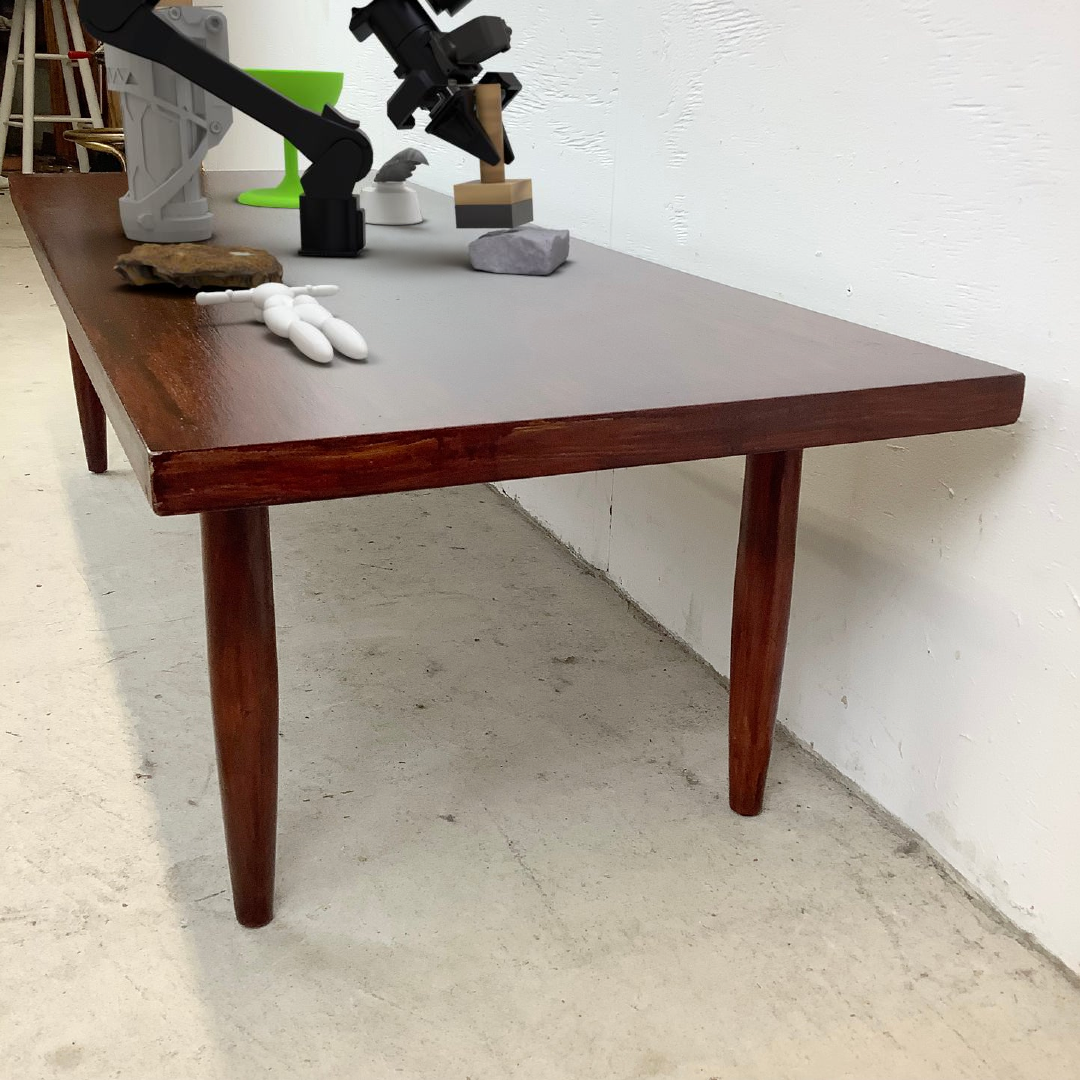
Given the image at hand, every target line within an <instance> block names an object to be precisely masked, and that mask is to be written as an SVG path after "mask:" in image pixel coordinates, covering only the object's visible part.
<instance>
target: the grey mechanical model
mask: <svg viewBox="0 0 1080 1080" xmlns="http://www.w3.org/2000/svg"><path fill="white" fill-rule="evenodd" d="M155 8H156V9H157V10H158V11H159V12H160V13H161V14H163V15H164V16H165V17H166V18H167V19H168V20H169V21H170V22H171V23H172V24H173V25H174V26H175V27H176V28H177V29H179V30H180V31H181V32H182V33H183V34H185V35H186V36H188V37H189V38H191V39H193V40H194V41H196V42H198V43H199V44H201V45H203V46H204V47H206V48H207V49H209V50H211V51H212V52H214V53H216V54H217V55H219V56H221V57H222V58H224V59H225V60H227V61H229V62H230V48H229V33H228V30H229V29H228V19H227V17H226V16H225V14H224V13H223V12H221V11H219V10H215V9H213V8H223V5H177V6H176V5H175V6H173V5H172V6H159V7H155ZM103 51H104V63H105V68H106V80H107V90H108V91H114V92H117V93H119V97H120V108H121V109H120V110H121V118H122V119H121V120H122V130H123V131H122V132H123V139H124V150H125V160H126V162H125V163H126V174H127V182H128V190H127V192H126V193H125V194H124V195H123V196H121V197H119V198H118V204H119V214H120V220H121V224H122V228H123V231H124V234H125V236H126V238H127V239H129V240H133V241H139V242H148V243H149V242H150V243H191V242H198V241H204V240H208V239H210V238H211V237H212V234H213V229H214V217H215V216H214V213H212V212H209V207H208V198H207V197H204V196H202V195H203V194H202V182H201V168H200V167H201V165H202V163H203V162H204V160H205V158H206V156H207V154H208V152H209V150H211V149H213V148H215V147H217V146H219V144H220V143H221V142H222V140H224V137H225V136H226V134H227V133H228V132H229V130H230V128H232V125H233V124H234V114H233V113H234V112H233V106H231V105H229V104H228V103H226V102H224V101H223V100H221V99H219V98H218V97H216V96H214V95H213V94H211V93H209V92H208V91H206V90H204V89H203V88H201V87H199V86H198V85H196V84H194V83H193V82H191V81H189V80H188V79H186V78H184V77H183V76H181V75H179V74H178V73H176V72H174V71H173V70H171V69H169V68H168V67H166V66H164V65H162V64H159V63H156V62H154V61H151V60H148V59H145V58H142V57H140V56H137V55H134V54H131V53H128V52H126V51H123V50H121V49H118V48H116V47H113V46H111V45H108V44H106V43H103Z"/></svg>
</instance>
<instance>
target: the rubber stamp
mask: <svg viewBox="0 0 1080 1080" xmlns="http://www.w3.org/2000/svg"><path fill="white" fill-rule="evenodd" d="M475 95H476V111H477V118H478V119H479V121H480V123H481V124H482V126H483V128H484V129H485V131H486V133H487V134H488V136H489V138H490V139H491V141H492V143H493V144H494V146H495V148H496V150H497V152H498V154H499V156H500V158H501V161H500V162H499V163H498V164H497V165H496V166H491V165H489V164H488V163H486V162H484V161H482V160H480V159H478V160H479V177H480V179H474V180H469V181H466V182H465V181H464V182H461V183H457V184H453V198H454V199H453V201H454V214H455V229H459V230H461V229H462V230H463V229H511V228H515V227H518V226H524V225H526V224H529V223H531V222H534V200H533V181H532V180H533V179H532V178H506V169H505V167H506V166H505V165H506V164H505V163H504V146H503V127H502V122H503V111H502V108H501V89H500V84H483V85H475Z"/></svg>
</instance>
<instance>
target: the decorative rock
mask: <svg viewBox="0 0 1080 1080" xmlns="http://www.w3.org/2000/svg"><path fill="white" fill-rule="evenodd" d="M115 264H116V265H114V266H113V270H114V271H115V272H116V273H117V275H118V279H119V280H122V281H124V282H127V283H129V285H130V286H133V287H134V286H145V285H155V284H157V285H158V284H162V283H163V284H172V285H174V286H175V287H177V288H182V287H183V286H188V287H189V288H192V289H198V290H200V289H201V287H202V286H205V287H206V286H215V287H224V288H225V287H226V288H227V287H239V288H247V289H249V290H250V289H252V288H256V287H258V286H260V285H262V284H266V283H280V284H284V281H283V276H284V269H283V268H284V267H283V264H282V263H280V261H279V260H278V259H277V257H276V256H275V255H272V254H270V253H268V250H267V249H259V248H257V249H256V248H253V247H251V246H242V245H238V246H235V245H232V246H231V245H230V246H226V247H224V246H219V245H216V244H214V243H213V244H210V245H208V244H194V243H191V242H180V243H179V244H175V243H171V244H166V245H165V244H164V245H160V244H156V243H146V242H145V243H143V244H142V245H134V246H133V248H132V250H131V251H130V252H129V253H123V254H120V255H118V256H116V262H115Z"/></svg>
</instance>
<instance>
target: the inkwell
mask: <svg viewBox="0 0 1080 1080" xmlns="http://www.w3.org/2000/svg"><path fill="white" fill-rule="evenodd" d="M422 164H423V165H426V166H430V163H429V161H428V159H427V157H426V156H425V154H424V153H423V152H422V151H421V150H420V149H419V150H418V149H417V148H414V147H407V148H405V149H402V150H400V151H399V152H397V153H396V154H394V155H393V156H392V157H391V158H390V159H388V160H387V161H385V162H384V163H383V164H382V166H381V167H380V169H378V170H377V172H376V174H375V177H374V179H372V181H370V185H371V186H366V187H363V188H362V189H361V190H360V193H359V194H360V208H364V209H365V223H366V224H372V225H373V224H374V225H389V226H390V225H393V226H395V225H398V226H399V225H414V224H419V223H422V221H423V220H424V218H423V217H424V216H423V213H422V209H421V205H420V201H419V197H418V194H417V191H416V190H415V189H414V188H411V187H408V186H406V182H407V179H409V178H411V177H413V175H414V174H413V173H412V172H415V171H416V170H417V166H420V165H422Z"/></svg>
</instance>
